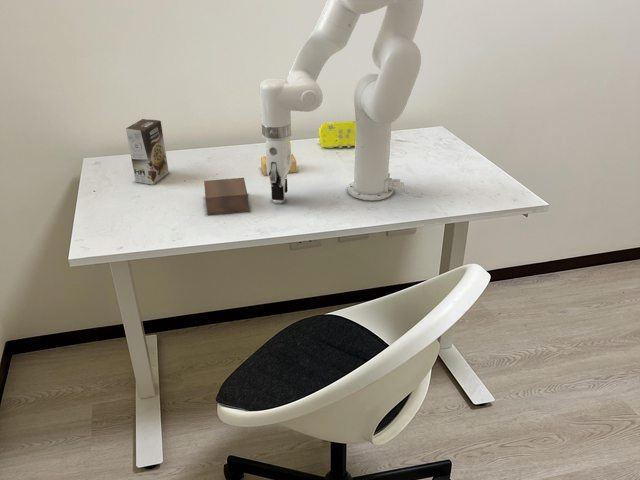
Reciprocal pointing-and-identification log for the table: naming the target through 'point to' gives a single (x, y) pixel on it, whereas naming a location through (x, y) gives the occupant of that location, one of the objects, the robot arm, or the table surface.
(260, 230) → the table surface
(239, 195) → the brown square block
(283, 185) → the milkshake
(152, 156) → the coffee box
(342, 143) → the yellow toy chassis
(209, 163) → the table surface
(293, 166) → the rubber stamp
